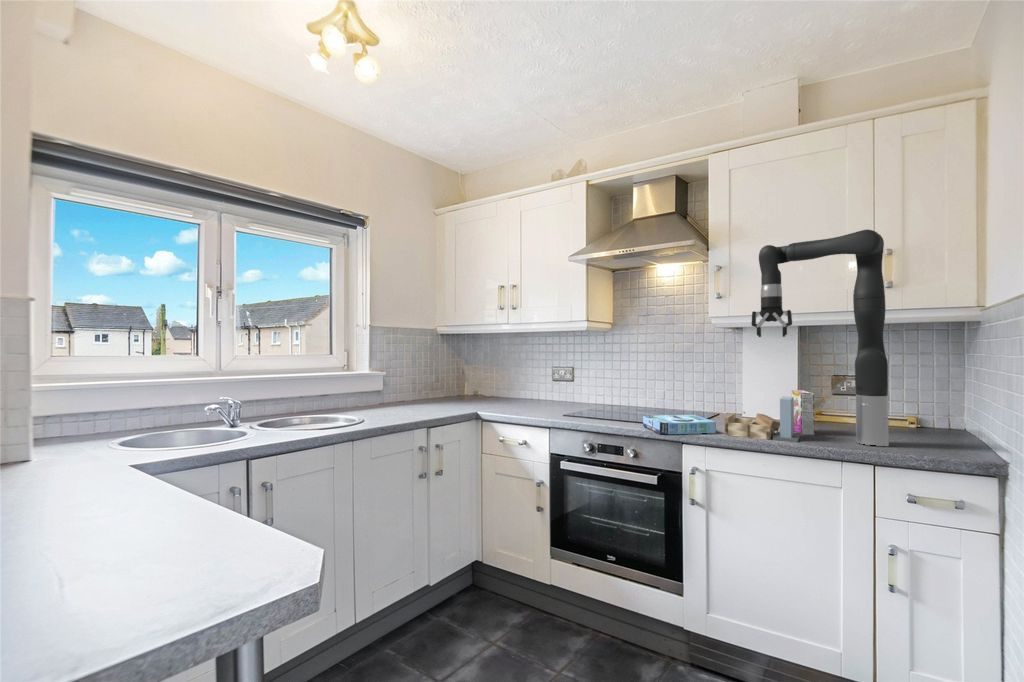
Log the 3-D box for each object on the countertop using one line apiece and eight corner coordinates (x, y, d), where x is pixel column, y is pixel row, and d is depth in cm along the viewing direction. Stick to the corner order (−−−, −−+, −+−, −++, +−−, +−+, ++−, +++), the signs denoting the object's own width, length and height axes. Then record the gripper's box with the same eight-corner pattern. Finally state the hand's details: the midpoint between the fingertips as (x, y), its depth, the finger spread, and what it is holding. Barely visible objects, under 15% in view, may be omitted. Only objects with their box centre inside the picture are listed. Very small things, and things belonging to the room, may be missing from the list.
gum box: (694, 425, 217) (642, 427, 216) (694, 413, 217) (642, 415, 215) (716, 433, 198) (659, 435, 196) (715, 420, 198) (659, 422, 196)
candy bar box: (790, 430, 205) (790, 390, 205) (804, 430, 204) (804, 390, 204) (800, 435, 194) (800, 392, 194) (815, 435, 193) (814, 393, 193)
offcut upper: (762, 423, 197) (765, 414, 196) (777, 431, 189) (780, 422, 189) (754, 421, 195) (757, 413, 195) (769, 429, 188) (772, 421, 187)
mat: (800, 436, 192) (800, 433, 192) (797, 442, 181) (797, 439, 181) (777, 433, 197) (777, 431, 197) (772, 439, 185) (772, 437, 185)
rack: (774, 433, 198) (774, 415, 198) (769, 439, 185) (769, 420, 185) (732, 429, 206) (732, 412, 206) (724, 435, 194) (724, 417, 194)
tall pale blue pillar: (794, 433, 192) (793, 396, 192) (791, 438, 183) (790, 399, 183) (783, 432, 194) (783, 396, 194) (780, 437, 185) (779, 399, 185)
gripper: (792, 295, 199) (793, 336, 199) (753, 297, 207) (753, 337, 207) (790, 294, 192) (791, 336, 192) (750, 296, 201) (750, 337, 200)
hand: (771, 336), depth 200 cm, fingers open, 8 cm apart
